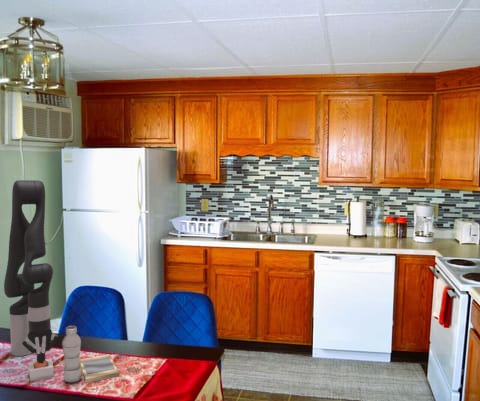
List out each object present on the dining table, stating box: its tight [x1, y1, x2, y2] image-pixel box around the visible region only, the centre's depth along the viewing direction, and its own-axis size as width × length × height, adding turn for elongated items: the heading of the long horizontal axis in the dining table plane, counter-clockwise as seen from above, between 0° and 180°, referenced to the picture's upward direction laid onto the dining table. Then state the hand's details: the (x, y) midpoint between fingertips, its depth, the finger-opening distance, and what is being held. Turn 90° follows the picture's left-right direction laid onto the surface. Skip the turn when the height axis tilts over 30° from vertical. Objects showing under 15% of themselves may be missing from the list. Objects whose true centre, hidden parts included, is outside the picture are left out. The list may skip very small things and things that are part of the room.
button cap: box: [34, 359, 47, 368], centre depth 177 cm, size 4×4×4 cm
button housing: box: [28, 358, 55, 383], centre depth 177 cm, size 8×8×4 cm
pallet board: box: [80, 354, 120, 384], centre depth 182 cm, size 18×12×2 cm, turn 27°
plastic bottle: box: [61, 325, 83, 384], centre depth 172 cm, size 6×7×20 cm
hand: (41, 362), depth 177 cm, fingers closed
